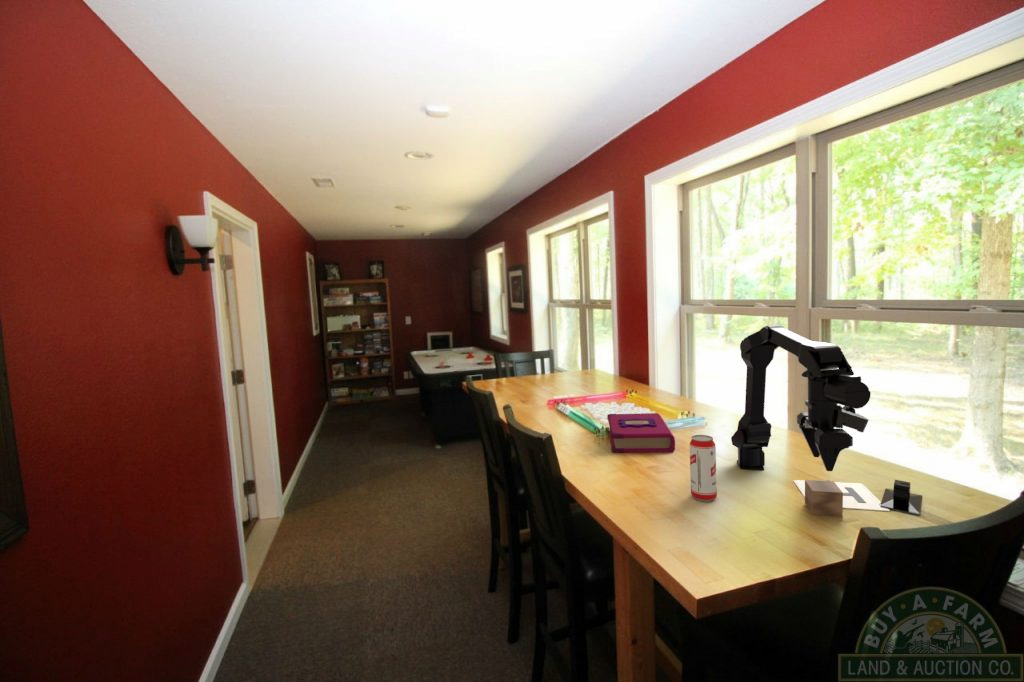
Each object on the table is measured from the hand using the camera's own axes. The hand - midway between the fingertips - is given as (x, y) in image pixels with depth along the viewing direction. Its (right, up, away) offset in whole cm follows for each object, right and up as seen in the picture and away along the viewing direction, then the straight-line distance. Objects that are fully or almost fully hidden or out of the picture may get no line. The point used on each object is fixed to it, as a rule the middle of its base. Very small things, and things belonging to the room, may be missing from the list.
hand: (822, 463), depth 109 cm
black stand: (+21, -10, +3) cm, 23 cm away
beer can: (-23, -12, +12) cm, 29 cm away
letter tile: (+9, -10, +9) cm, 16 cm away
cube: (+1, -11, +1) cm, 11 cm away
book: (-26, -8, +62) cm, 68 cm away
